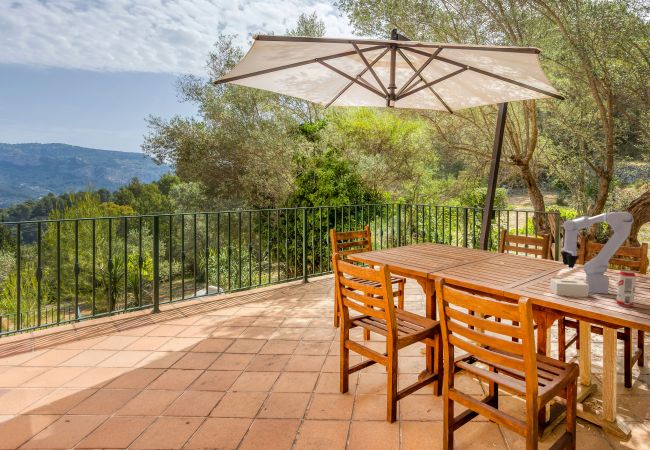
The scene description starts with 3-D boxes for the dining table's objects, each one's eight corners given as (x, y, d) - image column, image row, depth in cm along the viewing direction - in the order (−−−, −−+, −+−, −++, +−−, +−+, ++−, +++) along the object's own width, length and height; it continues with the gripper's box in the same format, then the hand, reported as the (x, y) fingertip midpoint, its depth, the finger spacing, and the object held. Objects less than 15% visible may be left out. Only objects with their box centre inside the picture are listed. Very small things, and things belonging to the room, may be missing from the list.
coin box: (579, 291, 202) (580, 280, 201) (587, 296, 192) (588, 285, 191) (550, 289, 205) (550, 278, 204) (556, 295, 195) (557, 283, 195)
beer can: (618, 306, 177) (621, 272, 175) (614, 302, 183) (616, 269, 181) (635, 308, 175) (638, 273, 173) (630, 304, 181) (633, 270, 179)
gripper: (557, 239, 221) (556, 262, 223) (567, 243, 207) (565, 268, 209) (571, 240, 219) (569, 263, 221) (582, 244, 205) (579, 269, 207)
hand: (568, 266), depth 215 cm, fingers open, 7 cm apart
